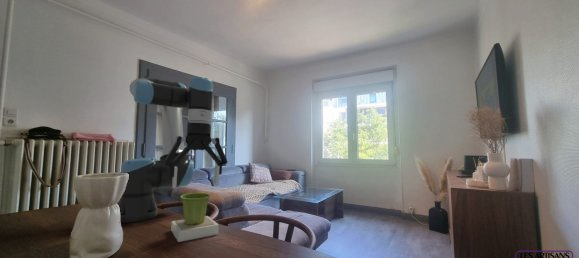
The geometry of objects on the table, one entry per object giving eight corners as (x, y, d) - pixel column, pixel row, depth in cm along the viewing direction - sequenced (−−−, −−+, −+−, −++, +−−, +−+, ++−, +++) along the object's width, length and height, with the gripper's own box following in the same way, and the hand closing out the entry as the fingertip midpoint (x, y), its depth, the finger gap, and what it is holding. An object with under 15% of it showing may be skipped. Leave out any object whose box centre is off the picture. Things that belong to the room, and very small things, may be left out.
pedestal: (171, 230, 80) (171, 220, 80) (207, 224, 87) (207, 215, 87) (178, 242, 70) (178, 230, 70) (218, 234, 77) (218, 223, 77)
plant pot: (215, 219, 82) (216, 193, 83) (197, 228, 73) (198, 199, 74) (192, 216, 84) (193, 192, 85) (172, 225, 75) (173, 197, 76)
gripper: (159, 118, 71) (155, 190, 70) (238, 124, 86) (235, 184, 84) (156, 120, 77) (152, 187, 76) (230, 126, 92) (227, 181, 90)
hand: (196, 185), depth 80 cm, fingers open, 13 cm apart
